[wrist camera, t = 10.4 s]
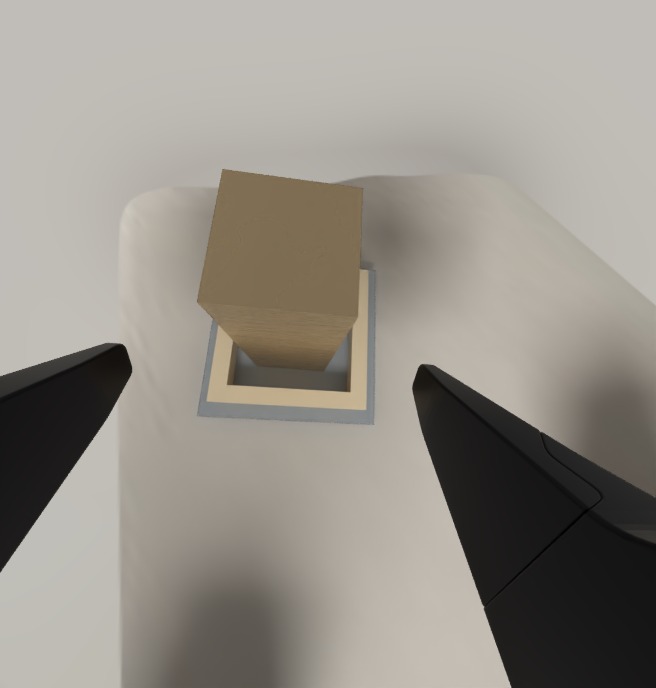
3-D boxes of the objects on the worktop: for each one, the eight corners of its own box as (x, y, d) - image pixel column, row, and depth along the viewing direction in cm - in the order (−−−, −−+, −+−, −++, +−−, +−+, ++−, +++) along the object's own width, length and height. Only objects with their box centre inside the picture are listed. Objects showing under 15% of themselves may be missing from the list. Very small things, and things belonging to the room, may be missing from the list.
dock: (370, 424, 19) (380, 426, 16) (202, 415, 18) (187, 416, 15) (372, 276, 21) (381, 259, 19) (226, 262, 21) (217, 242, 18)
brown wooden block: (323, 371, 18) (358, 317, 8) (257, 366, 18) (196, 301, 7) (327, 310, 19) (362, 188, 9) (265, 304, 19) (222, 169, 8)
